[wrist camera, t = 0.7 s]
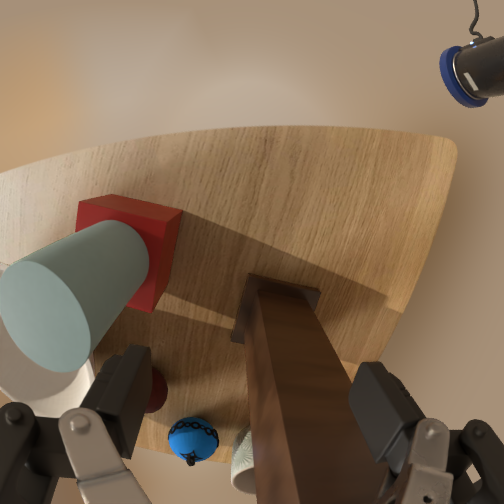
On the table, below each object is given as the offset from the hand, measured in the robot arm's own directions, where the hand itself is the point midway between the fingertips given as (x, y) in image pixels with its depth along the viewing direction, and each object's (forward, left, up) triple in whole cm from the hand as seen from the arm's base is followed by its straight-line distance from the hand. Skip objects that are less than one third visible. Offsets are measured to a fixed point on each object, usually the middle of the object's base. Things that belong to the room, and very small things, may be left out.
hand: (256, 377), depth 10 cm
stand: (+10, +7, -28) cm, 31 cm away
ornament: (+35, 0, -28) cm, 45 cm away
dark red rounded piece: (+26, -9, -28) cm, 39 cm away
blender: (+4, -13, -28) cm, 31 cm away
